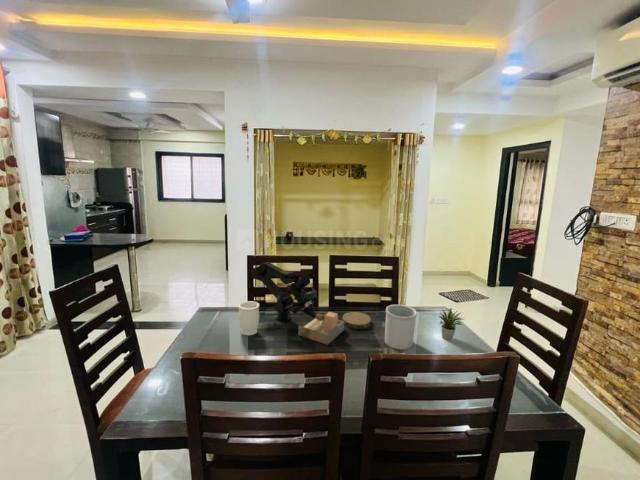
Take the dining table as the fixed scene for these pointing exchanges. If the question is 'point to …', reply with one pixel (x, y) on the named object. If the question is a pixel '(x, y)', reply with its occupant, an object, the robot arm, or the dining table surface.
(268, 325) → the dining table surface
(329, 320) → the terracotta block
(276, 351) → the dining table surface
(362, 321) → the wood slice
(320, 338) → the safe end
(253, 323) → the jar
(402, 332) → the utensil holder
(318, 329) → the board
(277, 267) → the robot arm
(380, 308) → the dining table surface
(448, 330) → the house plant
